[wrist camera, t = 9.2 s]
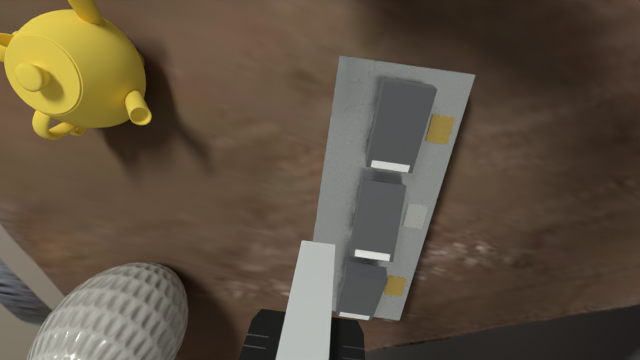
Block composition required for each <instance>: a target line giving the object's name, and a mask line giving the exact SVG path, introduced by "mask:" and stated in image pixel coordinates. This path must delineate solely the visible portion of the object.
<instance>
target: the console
mask: <svg viewBox="0 0 640 360" xmlns="http://www.w3.org/2000/svg"><path fill="white" fill-rule="evenodd" d="M382 78H389V79H396V80H403V81H410V82H417V83H424V84H431V85H433V86H434V87H436V88H437V93H436V96H435V99H434V103H433V106H432V109H431V113H430V116H429V119H428V123H427V126H426V129H425V133H424V136H423V139H422V142H421V146H420V149H419V152H418V156H417V159H416V162H415V166H414V169H413V172H412V174H411V173H404V172H398V171H391V170H384V169H377V168H370V167H366V163H365V157H366V152H367V148H368V143H369V138H370V134H371V129H372V124H373V119H374V115H375V110H376V105H377V101H378V96H379V91H380V87H381V82H382ZM474 78H475V75H473V74H468V73H463V72H457V71H450V70H443V69H436V68H429V67H422V66H415V65H408V64H401V63H394V62H387V61H380V60H373V59H366V58H359V57H352V56H345V55H340V58H339V65H338V71H337V78H336V85H335V92H334V99H333V106H332V113H331V120H330V127H329V134H328V140H327V147H326V154H325V161H324V168H323V175H322V182H321V189H320V196H319V203H318V209H317V216H316V223H315V230H314V237H313V242H317V243H326V244H334V245H335V258H334V276H333V294H332V311H336V301H337V297H338V293H339V289H340V285H341V281H342V277H343V273H344V269H345V265H346V261H348V262H354V263H361V264H368V265H375V266H382V267H386V269H387V280H388V281H387V284H386V286H385V289H384V291H383V294H382V296H381V299H380V301H379V304H378V306H377V309H376V311H375V314H374V316H373V317H379V318H386V319H392V320H399V321H400V317H401V314H402V311H403V308H404V304H405V301H406V298H407V295H408V291H409V288H410V285H411V282H412V278H413V275H414V272H415V269H416V266H417V262H418V259H419V256H420V253H421V249H422V246H423V243H424V240H425V236H426V233H427V230H428V227H429V223H430V220H431V217H432V214H433V211H434V207H435V204H436V201H437V198H438V194H439V191H440V188H441V185H442V181H443V178H444V175H445V172H446V168H447V165H448V162H449V159H450V156H451V152H452V149H453V146H454V143H455V139H456V136H457V133H458V130H459V126H460V123H461V120H462V117H463V113H464V110H465V107H466V104H467V101H468V97H469V94H470V91H471V88H472V84H473V81H474ZM360 178H367V179H374V180H381V181H388V182H395V183H402V184H404V185H406V186H407V187H406V193H405V198H404V204H403V209H402V215H401V220H400V226H399V232H398V237H397V243H396V248H395V254H394V260H393V262H387V261H380V260H373V259H367V258H360V257H353V256H350V253H349V247H350V240H351V234H352V228H353V222H354V215H355V209H356V203H357V197H358V190H359V184H360Z"/></svg>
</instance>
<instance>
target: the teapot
mask: <svg viewBox="0 0 640 360" xmlns="http://www.w3.org/2000/svg"><path fill="white" fill-rule="evenodd" d="M68 1H69V3H70V4H71V6H72V8H73V9H74V10H58V11H52V12H48V13H45V14H42V15H40V16H38V17H36V18H34V19H32V20H30V21H29V22H28V23H27V24H25V25H24V26H23V27H22V28H21V29H20V30H19V31H15V32H14V33H13V34H12V35H11V34H5V33H0V61H2V62H4V63H5V70H6V74H7V77H8V79H9V81H10V84H11V85H12V87H13V89H14V90H15V91H16V93H17V94H18V95H19V96H20V97H21V98H22V99H23V100H24V101H25V102H26V103H27V104H28V105H30V106H31V107H33V108H34V109H36V110H37V111H36V112H35V114H34V117H33V128H34V130H35V132H36V133H37V134H38V135H40V136H41V137H43V138H46V139H52V140H53V139H58V138H61V137H63V136H65V135H67V134H69V133H70V134H72V135H77V136H79V135H82V134H84V133H85V131H86V130H87V128H88V127H89V128H103V127H111V126H115V125H118V124H121V123H124V122H126V121H127V120H129V119H130V120H131V121H132V122H133V123H135V124H137V125H146V124H148V123H149V122H150V121H151V119H152V114H151V112H150V110H149V108H148V106H147V104H146V102H145V100H144V96H145V91H146V76H145V71H144V64H145V61H144V58H143V56H142V54H141V53H139V52H138V51H137V50H136V48H135V47H134V45H133V44H132V42H131V41H130V40H129V39H128V38H127V36H126V35H125V34H124V33H123V32H122V31H121V30H120V29H119V28H117V27H116V26H115V25H113V24H112V23H111V22H109V21H107V20H106V19H104V18H102V16H101V14H100V12H99V10H98V8H97V6H96V4H95V2H94V0H68ZM51 118H54V119H57V120H59V121H62V122H63V123H61V124H59V125H57V126H56V127H54V128H52V129H49V123H50V120H51Z"/></svg>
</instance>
